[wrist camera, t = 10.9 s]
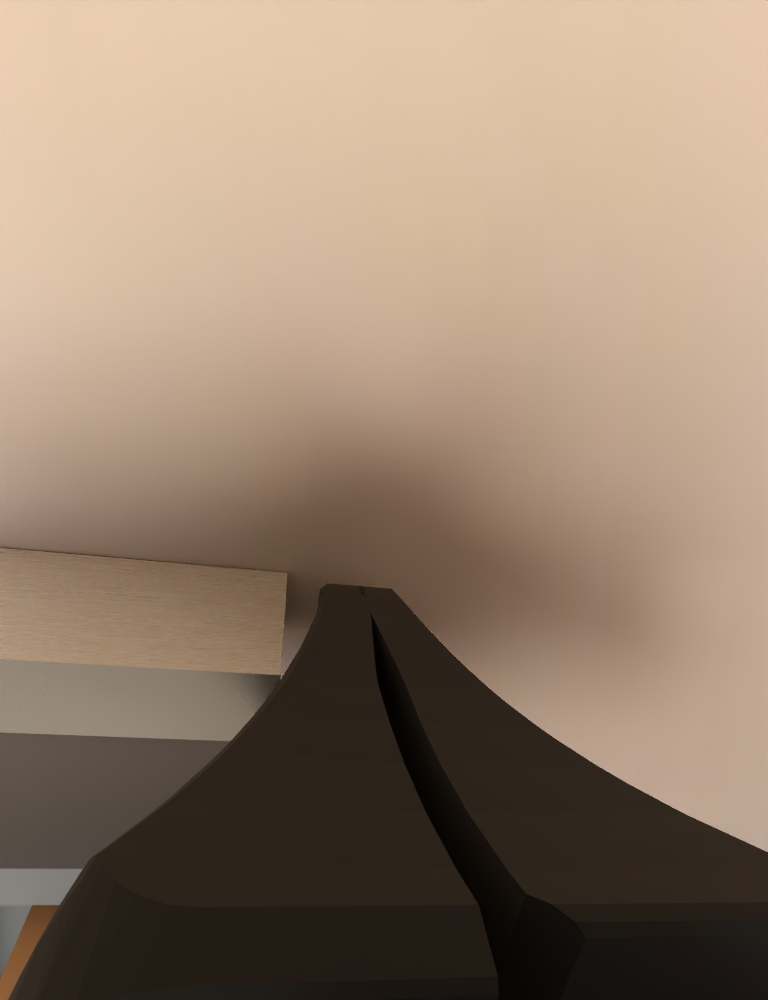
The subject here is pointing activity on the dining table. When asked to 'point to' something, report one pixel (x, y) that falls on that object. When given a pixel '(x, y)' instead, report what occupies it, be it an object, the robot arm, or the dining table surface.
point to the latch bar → (135, 646)
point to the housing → (76, 808)
